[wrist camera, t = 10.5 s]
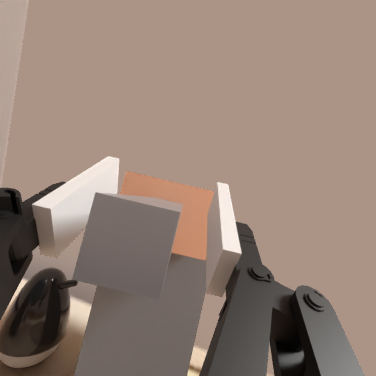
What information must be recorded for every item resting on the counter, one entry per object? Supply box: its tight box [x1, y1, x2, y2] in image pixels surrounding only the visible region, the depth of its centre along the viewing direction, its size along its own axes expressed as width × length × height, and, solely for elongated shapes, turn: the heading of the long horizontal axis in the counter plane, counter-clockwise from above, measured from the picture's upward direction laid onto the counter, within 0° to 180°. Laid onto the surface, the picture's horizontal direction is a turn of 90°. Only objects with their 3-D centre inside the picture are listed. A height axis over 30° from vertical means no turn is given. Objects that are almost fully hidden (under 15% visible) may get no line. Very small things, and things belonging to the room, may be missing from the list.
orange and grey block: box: [72, 171, 214, 300], centre depth 17 cm, size 22×10×7 cm, turn 1°
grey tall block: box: [74, 253, 207, 376], centre depth 31 cm, size 12×14×27 cm
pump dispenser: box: [0, 267, 78, 368], centre depth 35 cm, size 10×10×15 cm
